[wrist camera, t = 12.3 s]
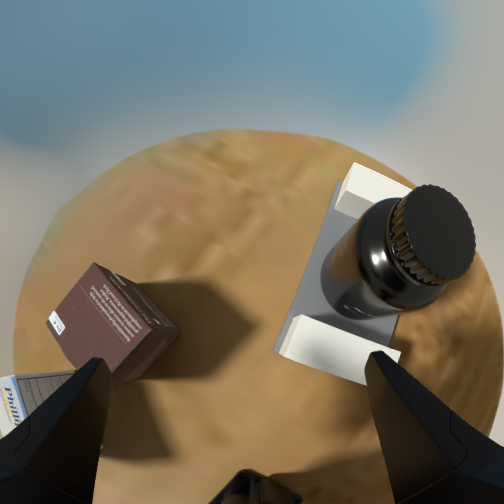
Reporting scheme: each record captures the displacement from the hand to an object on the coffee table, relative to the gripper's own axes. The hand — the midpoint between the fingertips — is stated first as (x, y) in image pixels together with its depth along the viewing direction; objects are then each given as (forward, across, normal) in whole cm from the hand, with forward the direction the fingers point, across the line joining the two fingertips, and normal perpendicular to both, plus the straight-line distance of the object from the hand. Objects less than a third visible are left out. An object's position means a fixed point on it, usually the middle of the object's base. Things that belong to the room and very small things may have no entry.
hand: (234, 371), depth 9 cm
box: (+11, +9, +9) cm, 17 cm away
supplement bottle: (+13, -10, +6) cm, 17 cm away
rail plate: (+13, -10, +6) cm, 17 cm away
